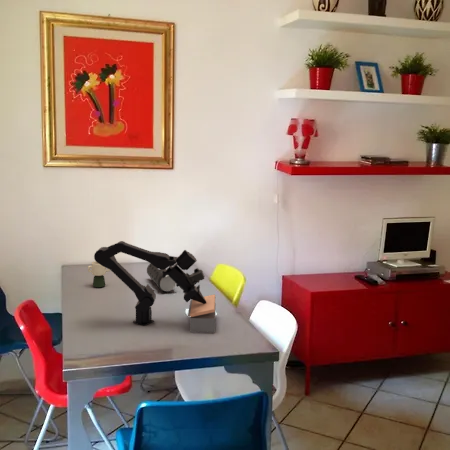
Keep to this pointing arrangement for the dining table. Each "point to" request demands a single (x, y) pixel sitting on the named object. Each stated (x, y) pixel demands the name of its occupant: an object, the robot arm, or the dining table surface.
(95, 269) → the trophy cup
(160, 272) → the muzzle brake
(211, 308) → the lid
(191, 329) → the cable box
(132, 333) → the dining table surface
